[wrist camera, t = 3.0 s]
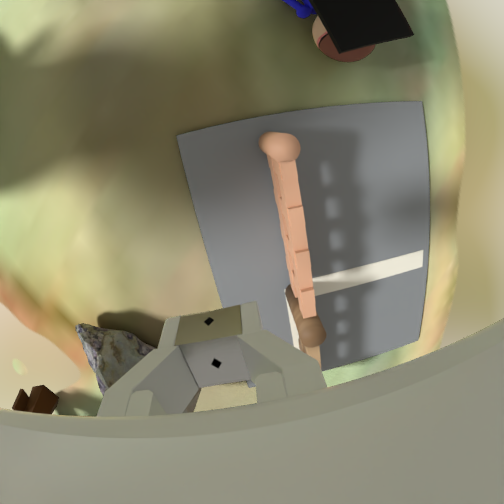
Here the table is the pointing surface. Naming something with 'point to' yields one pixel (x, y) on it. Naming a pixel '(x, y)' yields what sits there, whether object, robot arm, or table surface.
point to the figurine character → (353, 25)
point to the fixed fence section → (306, 328)
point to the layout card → (322, 221)
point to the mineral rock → (115, 355)
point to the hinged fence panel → (291, 214)
